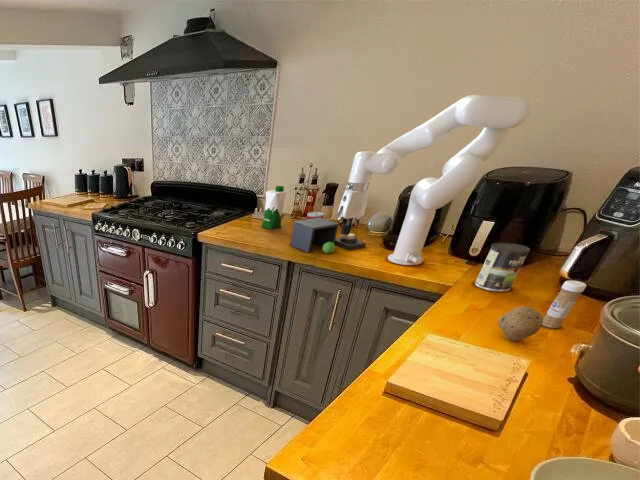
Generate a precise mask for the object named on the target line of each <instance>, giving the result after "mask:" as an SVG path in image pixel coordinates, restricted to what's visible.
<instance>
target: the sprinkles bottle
mask: <svg viewBox="0 0 640 480" xmlns="http://www.w3.org/2000/svg"><path fill="white" fill-rule="evenodd" d="M586 287H587V284H586V283H584V282H582V281H579V280H572V279H570V280H566V281H564V282H563V284H562V286H561V289H560V291H559V292H558V294H557V296H556V297H555V298H554V301H553V302H552V304H551V305H550V306H549V308H548V310H547V312H546V314H545V315H544V317H543V323H542V326H544V327H546V328H550V329H560V328H561V327H562V324H563V322H564V321H565V320H566V319H567V317H568V315H569V314H570V311H571V310H572V309H573V307H574V305H575V304H576V302H577V300H578V299H579V298H580V296H581V294H582V293H583V292H584V291H585V289H586Z"/></svg>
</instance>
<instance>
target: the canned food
mask: <svg viewBox="0 0 640 480" xmlns="http://www.w3.org/2000/svg"><path fill="white" fill-rule="evenodd" d="M313 218H323V219H325V212H322V211H309V212H307V214H306V219H305V220H307V219H313Z"/></svg>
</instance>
